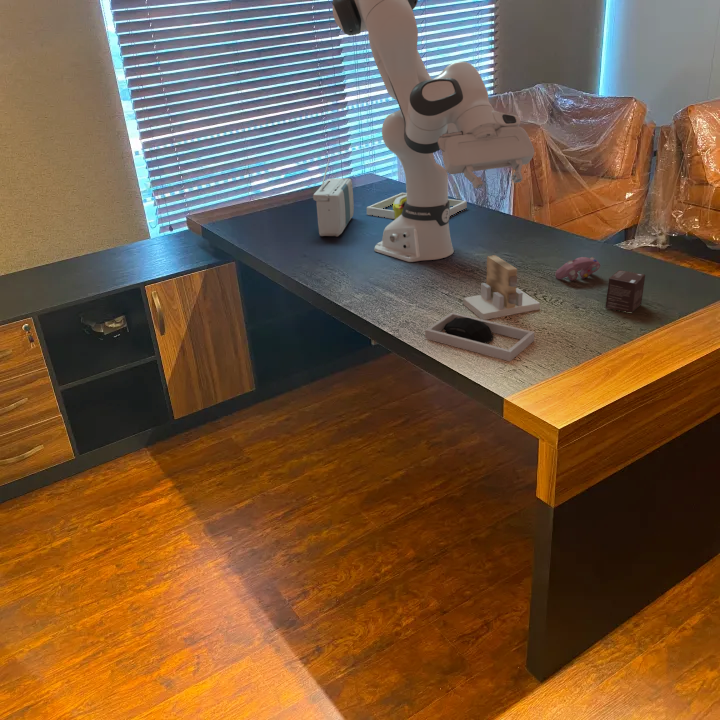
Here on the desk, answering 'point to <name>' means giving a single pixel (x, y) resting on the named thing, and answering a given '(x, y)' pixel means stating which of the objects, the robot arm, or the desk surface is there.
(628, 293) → the box
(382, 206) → the white rectangular tray
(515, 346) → the mouse tray
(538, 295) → the desk surface
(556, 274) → the video game controller
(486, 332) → the gaming mouse
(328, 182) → the stereo radio cassette player
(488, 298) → the white slotted stand
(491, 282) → the tan upright panel
